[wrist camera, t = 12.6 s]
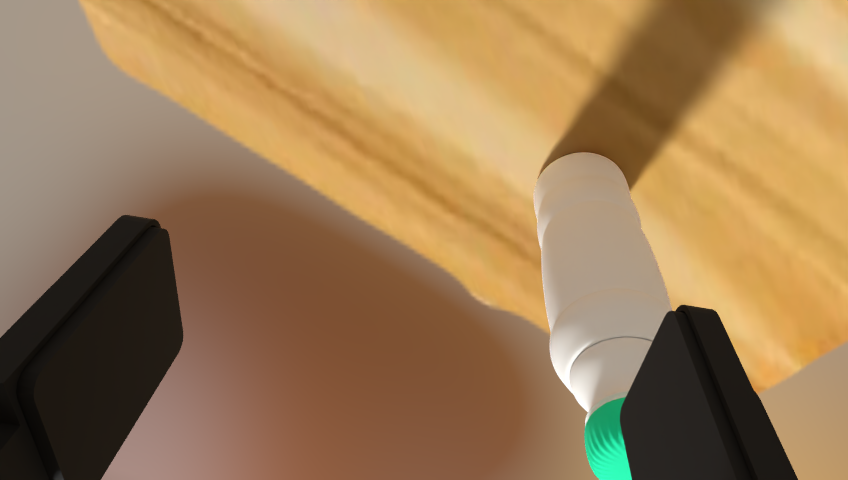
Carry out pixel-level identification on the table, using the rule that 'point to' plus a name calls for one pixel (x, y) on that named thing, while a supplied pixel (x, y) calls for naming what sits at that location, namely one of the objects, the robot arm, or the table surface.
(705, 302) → the table surface
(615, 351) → the water bottle
